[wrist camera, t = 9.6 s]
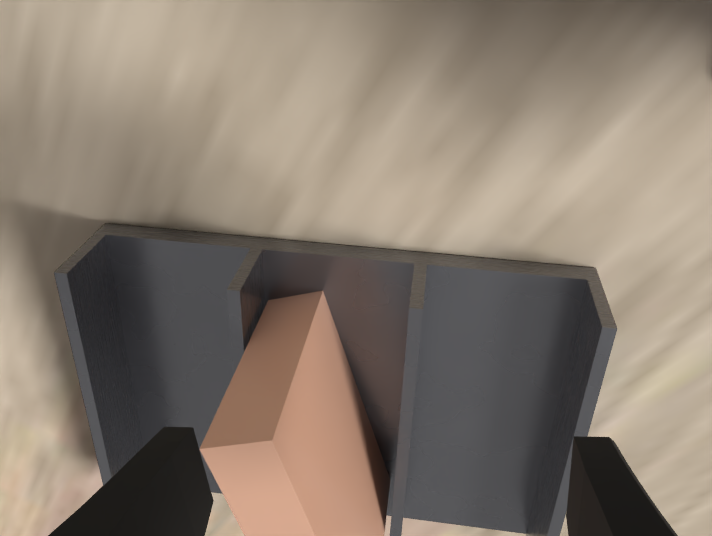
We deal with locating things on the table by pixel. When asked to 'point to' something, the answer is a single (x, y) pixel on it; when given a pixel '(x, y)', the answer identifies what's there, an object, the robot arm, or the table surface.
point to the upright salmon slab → (297, 432)
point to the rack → (354, 358)
